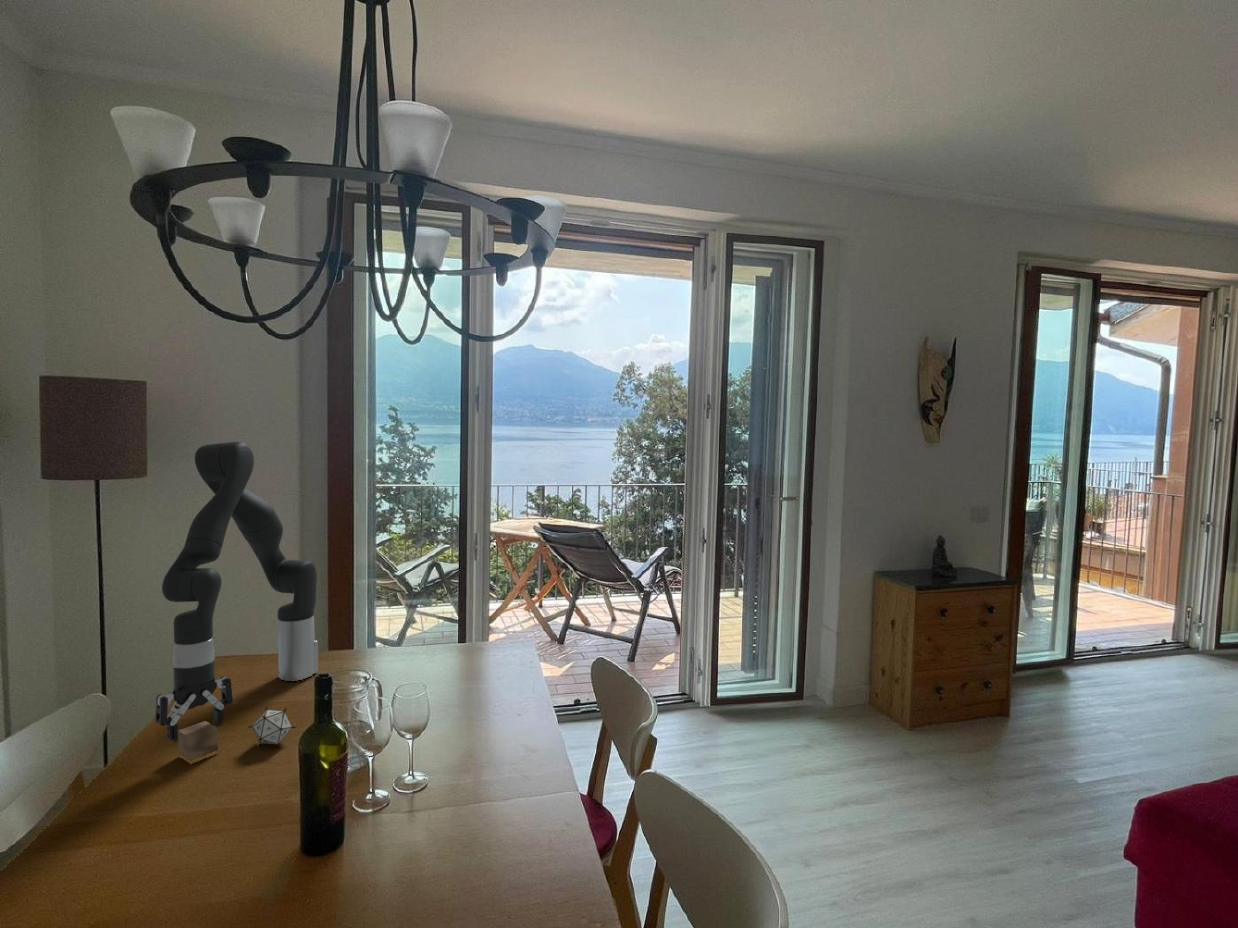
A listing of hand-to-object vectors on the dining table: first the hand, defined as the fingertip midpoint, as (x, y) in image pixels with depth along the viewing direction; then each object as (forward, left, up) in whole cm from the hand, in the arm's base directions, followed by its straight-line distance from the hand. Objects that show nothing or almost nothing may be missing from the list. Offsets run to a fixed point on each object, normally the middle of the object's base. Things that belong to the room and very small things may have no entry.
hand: (195, 732), depth 142 cm
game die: (-12, +8, -5) cm, 16 cm away
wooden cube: (0, 0, -5) cm, 5 cm away
